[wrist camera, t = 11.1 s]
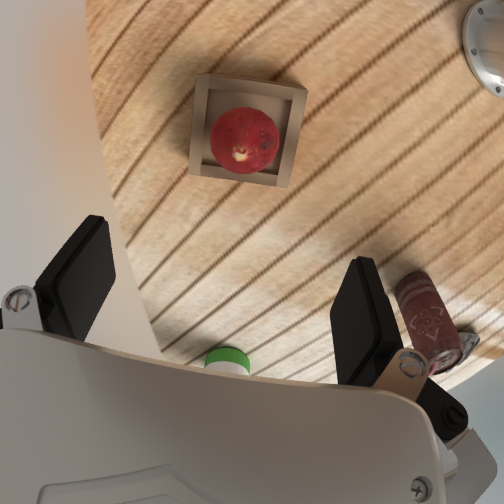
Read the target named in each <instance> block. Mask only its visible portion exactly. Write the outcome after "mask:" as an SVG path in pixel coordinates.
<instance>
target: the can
mask: <svg viewBox="0 0 504 504" xmlns="http://www.w3.org/2000/svg"><path fill="white" fill-rule="evenodd" d="M395 297H396V301H397V303H398V306H399V308H400V311H401V314H402V316H403V319H404V322H405V324H406V327H407V330H408V333H409V336H410V338H411V341H412V344H413V347H414V349H415V350H417V351H419V352H420V353H421V354H422V355H423V356H424V357H425V358H426V360H427V361H428V364H429V368H430V372H429V376H431V375H437V374H441V373H444V372H446V371H448V370H450V369H452V368H453V367H454V366H456V365H457V364H458V363H459V362H460V361H461V359H462V357H463V344H462V342H461V339H460V337H459V335H458V333H457V330H456V328H455V326H454V324H453V322H452V320H451V318H450V315H449V313H448V311H447V309H446V307H445V305H444V303H443V301H442V299H441V297H440V295H439V293H438V291H437V290H436V288H435V286H434V284H433V282H432V280H431V278H430V277H429V276H428V275H426V274H423V273H412V274H410V275H408V276H406V277H404V278H403V279H402V280H401V281H400V282H399V284H398V286H397V288H396V291H395Z"/></svg>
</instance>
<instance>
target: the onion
mask: <svg viewBox="0 0 504 504" xmlns="http://www.w3.org/2000/svg"><path fill="white" fill-rule="evenodd" d="M210 146H211V152H212V154H213V155H214V157H215V159H216V161H217V162H218V163H219V164H220V165H221V166H222V167H224V168H225V169H226V170H227V171H230V172H233V173H236V174H252V173H255V172H258V171H260V170H263V169H264V168H265V167H266V166H268V165H269V164H270V163H271V162H272V161H273V159H274V157H275V155H276V153H277V150H278V148H279V131H278V129H277V127H276V125H275V123H274V121H273V119H272V118H270V117H269V116H268V115H266V114H265V113H264V112H262V111H261V110H258V109H254V108H250V107H240V108H233V109H231V110H229V111H227V112H225V113H223V114H221V115H220V117H219V118H218V119H217V120H216V121H215V122H214V124H213V126H212V129H211V133H210Z"/></svg>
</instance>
